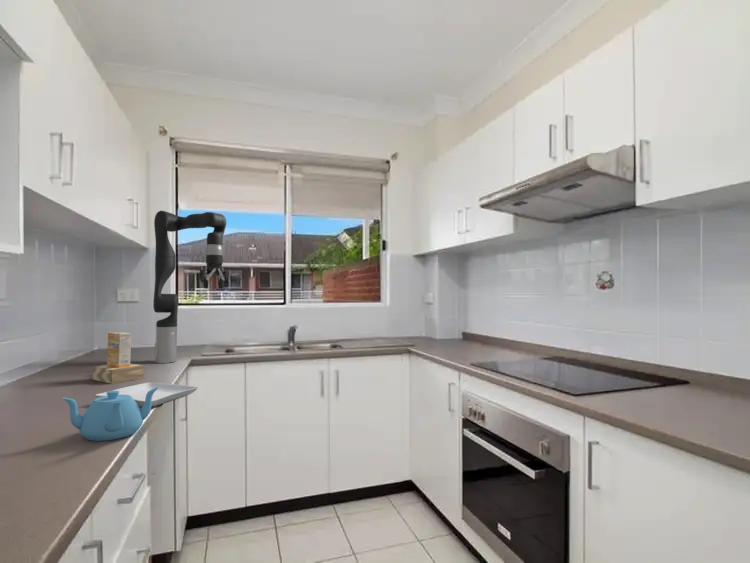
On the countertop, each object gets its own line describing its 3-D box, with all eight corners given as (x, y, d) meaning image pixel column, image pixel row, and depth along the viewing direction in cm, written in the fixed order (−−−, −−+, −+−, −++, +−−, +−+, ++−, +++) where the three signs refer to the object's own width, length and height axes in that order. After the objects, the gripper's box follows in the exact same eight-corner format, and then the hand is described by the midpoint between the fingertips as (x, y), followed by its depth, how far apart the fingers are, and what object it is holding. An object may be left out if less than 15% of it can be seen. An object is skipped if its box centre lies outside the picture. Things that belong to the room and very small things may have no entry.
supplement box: (106, 366, 168) (107, 332, 168) (118, 364, 172) (119, 331, 172) (118, 368, 163) (119, 333, 164) (130, 366, 168) (131, 332, 168)
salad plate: (199, 395, 143) (199, 385, 143) (149, 412, 123) (150, 400, 123) (148, 391, 149) (148, 381, 149) (92, 406, 129) (93, 394, 129)
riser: (92, 379, 166) (92, 366, 166) (123, 374, 176) (124, 362, 176) (111, 383, 159) (112, 370, 159) (143, 378, 169) (143, 365, 169)
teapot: (110, 423, 112) (111, 383, 112) (161, 426, 109) (162, 386, 109) (59, 442, 97) (60, 396, 98) (117, 446, 95) (117, 400, 95)
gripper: (221, 256, 213) (220, 288, 213) (196, 253, 201) (195, 288, 201) (231, 255, 209) (231, 288, 209) (207, 253, 197) (206, 288, 197)
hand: (213, 288), depth 205 cm, fingers open, 8 cm apart
